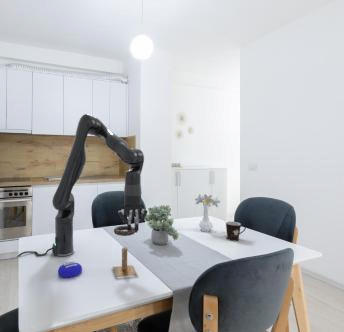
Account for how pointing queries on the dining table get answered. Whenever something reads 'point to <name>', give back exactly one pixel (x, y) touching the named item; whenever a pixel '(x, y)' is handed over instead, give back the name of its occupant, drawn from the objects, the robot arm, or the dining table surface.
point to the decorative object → (69, 269)
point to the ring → (124, 233)
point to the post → (124, 266)
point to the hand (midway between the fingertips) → (132, 232)
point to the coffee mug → (233, 230)
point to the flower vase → (206, 211)
